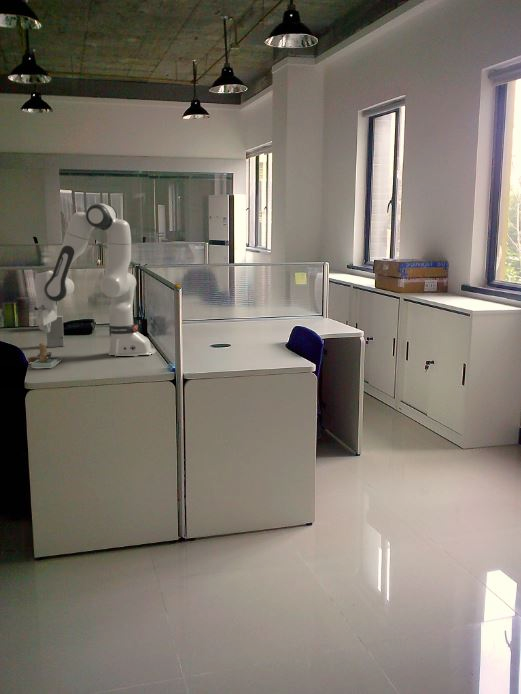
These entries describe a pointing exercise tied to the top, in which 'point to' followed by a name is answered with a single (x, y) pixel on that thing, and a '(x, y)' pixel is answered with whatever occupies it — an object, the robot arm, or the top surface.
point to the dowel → (43, 352)
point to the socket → (54, 358)
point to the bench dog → (33, 358)
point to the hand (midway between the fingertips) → (47, 332)
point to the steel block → (47, 354)
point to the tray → (48, 364)
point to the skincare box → (56, 333)
